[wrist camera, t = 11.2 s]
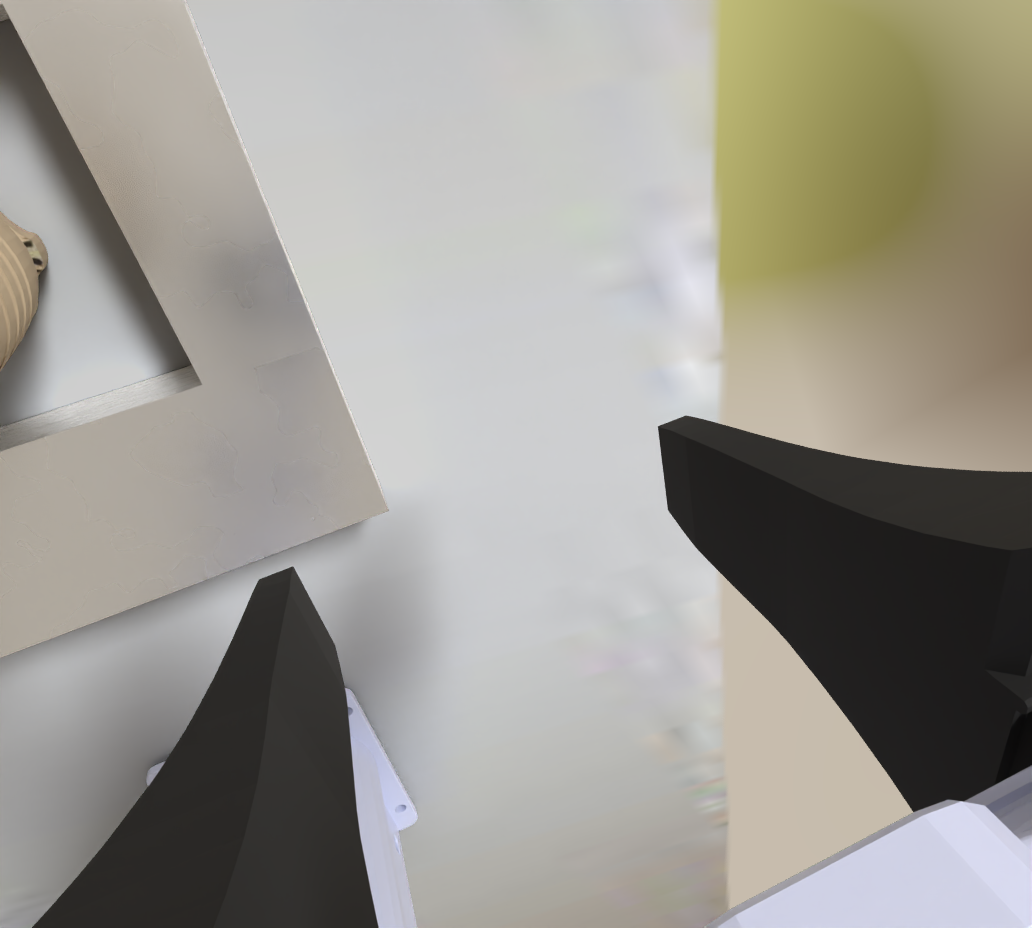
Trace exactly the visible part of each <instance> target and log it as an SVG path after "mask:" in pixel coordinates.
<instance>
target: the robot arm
mask: <svg viewBox="0 0 1032 928" xmlns="http://www.w3.org/2000/svg"><path fill="white" fill-rule="evenodd" d="M658 431H659V439H660V447H661V456H662V464H663V472H664V480H665V489H666V497H667V505H668V511H669V512H670V513H671V515H672V516H673V518H674V519H675V520H676V522H677V523H678V524H679V526H680V527H681V529H682V530H683V531H684V533H685V534H686V535H687V537H688V538H689V539H690V541H691V542H692V543H693V544H694V546H695V547H696V548H697V549H698V550H699V551H700V552H701V553H702V554H703V556H704V557H705V558H706V559H707V560H708V561H709V562H710V563H711V564H712V565H713V566H714V567H715V568H716V569H717V570H718V571H719V572H720V573H721V574H722V575H723V576H724V577H725V578H726V579H727V580H728V581H729V582H730V583H731V584H732V585H733V586H734V587H735V588H736V589H737V590H738V591H739V592H740V593H741V594H742V595H743V596H744V597H745V598H746V599H747V600H748V601H749V602H750V603H751V604H752V605H753V606H754V607H755V608H756V609H757V610H758V611H759V612H760V613H761V614H762V615H763V616H764V617H765V618H766V619H767V620H768V621H769V622H770V623H771V624H772V625H773V626H774V627H775V628H776V629H777V630H778V632H779V633H780V634H781V635H782V636H783V637H784V638H785V639H786V640H787V642H788V643H789V644H790V645H791V647H792V648H793V649H794V650H795V651H796V653H797V654H798V655H799V656H800V658H801V659H802V660H803V661H804V663H805V664H806V665H807V666H808V668H809V669H810V670H811V671H812V673H813V674H814V675H815V676H816V678H817V679H818V680H819V681H820V683H821V684H822V685H823V687H824V688H825V689H826V690H827V692H828V693H829V695H830V696H831V697H832V698H833V700H834V701H835V702H836V704H837V705H838V706H839V708H840V709H841V710H842V712H843V713H844V714H845V716H846V717H847V718H848V720H849V721H850V722H851V723H852V725H853V726H854V728H855V729H856V730H857V732H858V733H859V735H860V736H861V737H862V739H863V740H864V741H865V743H866V744H867V746H868V747H869V748H870V750H871V751H872V752H873V754H874V755H875V757H876V758H877V760H878V761H879V762H880V764H881V765H882V767H883V768H884V769H885V771H886V772H887V774H888V775H889V776H890V778H891V779H892V781H893V782H894V784H895V785H896V787H897V788H898V790H899V791H900V793H901V794H902V796H903V797H904V799H905V800H906V801H907V803H908V805H909V806H910V808H911V809H912V811H913V813H911V814H910V815H908V816H906V817H904V818H902V819H900V820H898V821H896V822H894V823H892V824H890V825H889V826H887V827H885V828H883V829H881V830H879V831H877V832H875V833H873V834H872V835H870V836H868V837H866V838H864V839H862V840H860V841H858V842H856V843H855V844H853V845H851V846H849V847H847V848H845V849H843V850H841V851H839V852H838V853H836V854H834V855H832V856H830V857H828V858H826V859H824V860H822V861H820V862H819V863H817V864H815V865H813V866H811V867H809V868H807V869H805V870H804V871H802V872H800V873H798V874H796V875H794V876H792V877H790V878H788V879H786V880H785V881H783V882H781V883H779V884H777V885H775V886H773V887H771V888H770V889H768V890H766V891H764V892H762V893H760V894H758V895H756V896H754V897H752V898H751V899H749V900H747V901H745V902H743V903H741V904H739V905H737V906H735V907H733V908H732V909H730V910H728V911H727V912H725V913H724V914H722V915H721V916H719V917H718V918H716V919H715V920H714V921H712V922H711V923H709V924H708V925H706V926H705V927H703V928H1032V472H996V471H972V470H956V469H944V468H931V467H920V466H911V465H902V464H895V463H889V462H882V461H875V460H868V459H862V458H856V457H850V456H845V455H840V454H835V453H831V452H826V451H821V450H817V449H812V448H808V447H804V446H800V445H795V444H791V443H787V442H784V441H779V440H776V439H772V438H769V437H765V436H761V435H758V434H754V433H750V432H747V431H743V430H740V429H736V428H733V427H729V426H726V425H722V424H718V423H715V422H711V421H707V420H703V419H699V418H695V417H690V416H684V417H681V418H679V419H676V420H673V421H671V422H668V423H666V424H663V425H660V426H658ZM348 707H349V708H348ZM146 783H147V785H148V788H147V789H146V790H145V792H144V793H143V794H142V796H141V797H140V798H139V800H138V801H137V802H136V804H135V805H134V806H133V808H132V809H131V810H130V812H129V813H128V814H127V816H126V817H125V818H124V820H123V821H122V822H121V824H120V825H119V826H118V828H117V829H116V830H115V831H114V833H113V834H112V835H111V837H110V838H109V839H108V841H107V842H106V843H105V844H104V846H103V847H102V848H101V849H100V851H99V852H98V853H97V854H96V855H95V857H94V858H93V859H92V860H91V861H90V862H89V864H88V865H87V866H86V867H85V868H84V870H83V871H82V872H81V873H80V874H79V876H78V877H77V878H76V879H75V880H74V881H73V883H72V884H71V885H70V886H69V887H68V888H67V889H66V890H65V892H64V893H63V894H62V895H61V896H60V897H59V898H58V900H57V901H56V902H55V903H54V904H53V905H52V906H51V907H50V909H49V910H48V911H47V912H46V913H45V914H44V915H43V916H42V917H41V918H40V920H39V921H38V922H37V923H36V924H35V925H34V926H33V927H32V928H417V924H416V919H415V914H414V909H413V904H412V899H411V893H410V888H409V883H408V878H407V873H406V868H405V863H404V857H403V852H402V847H401V842H400V837H399V832H398V831H400V830H403V829H405V828H407V827H409V826H411V825H413V824H414V823H415V822H416V821H417V818H418V816H417V811H416V808H415V806H414V805H413V803H412V801H411V799H410V797H409V795H408V793H407V792H406V790H405V788H404V786H403V784H402V782H401V780H400V779H399V777H398V775H397V773H396V771H395V769H394V767H393V766H392V764H391V762H390V760H389V758H388V756H387V754H386V753H385V751H384V749H383V747H382V745H381V743H380V741H379V740H378V738H377V736H376V734H375V732H374V730H373V728H372V727H371V725H370V723H369V721H368V719H367V717H366V715H365V714H364V712H363V710H362V708H361V706H360V704H359V703H358V701H357V699H356V697H355V695H354V693H353V692H352V691H351V690H350V689H348V688H345V686H344V682H343V677H342V673H341V668H340V664H339V660H338V656H337V651H336V647H335V644H334V643H333V641H332V639H331V637H330V635H329V633H328V631H327V629H326V627H325V626H324V624H323V622H322V620H321V618H320V616H319V614H318V612H317V611H316V609H315V607H314V605H313V603H312V601H311V599H310V597H309V595H308V594H307V592H306V590H305V588H304V586H303V584H302V582H301V580H300V578H299V577H298V575H297V573H296V571H295V569H294V567H290V568H288V569H285V570H283V571H280V572H277V573H275V574H272V575H270V576H267V577H264V578H262V579H259V581H258V583H257V585H256V587H255V589H254V591H253V593H252V595H251V598H250V600H249V602H248V605H247V607H246V609H245V612H244V614H243V616H242V619H241V621H240V623H239V625H238V628H237V630H236V632H235V634H234V637H233V639H232V641H231V643H230V645H229V647H228V650H227V652H226V654H225V656H224V658H223V660H222V662H221V664H220V667H219V669H218V671H217V673H216V675H215V677H214V679H213V681H212V683H211V685H210V686H209V688H208V690H207V692H206V694H205V696H204V698H203V699H202V701H201V703H200V705H199V707H198V709H197V711H196V712H195V714H194V716H193V718H192V720H191V722H190V723H189V725H188V727H187V728H186V730H185V732H184V733H183V735H182V737H181V738H180V740H179V741H178V743H177V745H176V746H175V748H174V749H173V751H172V752H171V754H170V755H169V757H168V758H167V760H166V761H164V762H162V763H159V764H157V765H155V766H153V767H151V768H150V769H149V771H148V773H147V779H146Z"/></svg>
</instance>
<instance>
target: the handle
mask: <svg viewBox="0 0 1032 928" xmlns="http://www.w3.org/2000/svg"><path fill="white" fill-rule="evenodd" d="M47 263H48V254H47V251H46V247H45V245H44V244H43V242H42V240H41V239H40V237H39V236H38V235H37V234H35V233H32V232H28V231H26V230H24V229H22V228H20V227H19V226H17V225H16V224H14V223H13V222H12V221H10V220H9V219H8V218H7V217H6V216H5V215H4V214H3V213H1V212H0V371H1V369H2V368H3V367H4V366H5V364H6V363H7V361H8V360H9V359H10V357H11V356H12V354H13V353H14V351H15V350H16V348H17V347H18V345H19V344H20V342H21V340H22V339H23V337H24V336H25V334H26V331H27V329H28V327H29V325H30V323H31V320H32V318H33V316H34V315H35V313H36V311H37V307H38V295H39V282H38V276H39V274H40V272H41V271H42V270H43V269H44V268H45V267H46V265H47Z"/></svg>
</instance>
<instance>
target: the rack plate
mask: <svg viewBox="0 0 1032 928" xmlns="http://www.w3.org/2000/svg"><path fill="white" fill-rule="evenodd" d="M7 19H11V21H12V23H13V25H14V27H15V29H16V31H17V32H18V34H19V36H20V38H21V40H22V42H23V44H24V46H25V48H26V50H27V52H28V53H29V55H30V57H31V59H32V61H33V63H34V65H35V67H36V69H37V71H38V72H39V74H40V76H41V78H42V80H43V82H44V84H45V86H46V88H47V90H48V92H49V93H50V95H51V97H52V99H53V101H54V103H55V105H56V107H57V109H58V111H59V112H60V114H61V116H62V118H63V120H64V122H65V124H66V126H67V128H68V130H69V131H70V133H71V135H72V137H73V139H74V141H75V143H76V145H77V147H78V149H79V151H80V152H81V154H82V156H83V158H84V160H85V162H86V164H87V166H88V168H89V170H90V171H91V173H92V175H93V177H94V179H95V181H96V183H97V185H98V187H99V189H100V191H101V192H102V194H103V196H104V198H105V200H106V202H107V204H108V206H109V208H110V210H111V211H112V213H113V215H114V217H115V219H116V221H117V223H118V225H119V227H120V229H121V231H122V232H123V234H124V236H125V238H126V240H127V242H128V244H129V246H130V248H131V250H132V251H133V253H134V255H135V257H136V259H137V261H138V263H139V265H140V267H141V269H142V270H143V272H144V274H145V276H146V278H147V280H148V282H149V284H150V286H151V288H152V290H153V291H154V293H155V295H156V297H157V299H158V301H159V303H160V305H161V307H162V309H163V310H164V312H165V314H166V316H167V318H168V320H169V322H170V324H171V326H172V328H173V330H174V331H175V333H176V335H177V337H178V339H179V341H180V343H181V345H182V347H183V349H184V350H185V352H186V354H187V356H188V358H189V360H190V362H191V364H192V365H191V366H188V367H184V368H181V369H178V370H175V371H172V372H169V373H166V374H163V375H160V376H157V377H154V378H151V379H147V380H144V381H141V382H138V383H135V384H132V385H129V386H126V387H123V388H120V389H117V390H114V391H111V392H107V393H104V394H101V395H98V396H95V397H92V398H89V399H86V400H83V401H80V402H77V403H74V404H70V405H67V406H64V407H61V408H58V409H55V410H52V411H49V412H46V413H43V414H40V415H37V416H34V417H30V418H27V419H24V420H21V421H18V422H15V423H12V424H9V425H6V426H3V427H0V658H1V657H4V656H7V655H9V654H12V653H15V652H17V651H20V650H23V649H25V648H28V647H31V646H33V645H36V644H38V643H41V642H44V641H46V640H49V639H52V638H54V637H57V636H60V635H62V634H65V633H67V632H70V631H73V630H75V629H78V628H81V627H83V626H86V625H89V624H91V623H94V622H96V621H99V620H102V619H104V618H107V617H110V616H112V615H115V614H118V613H120V612H123V611H126V610H128V609H131V608H133V607H136V606H139V605H141V604H144V603H147V602H149V601H152V600H155V599H157V598H160V597H162V596H165V595H168V594H170V593H173V592H176V591H178V590H181V589H184V588H186V587H189V586H191V585H194V584H197V583H199V582H202V581H205V580H207V579H210V578H213V577H215V576H218V575H221V574H223V573H226V572H228V571H231V570H234V569H236V568H239V567H242V566H244V565H247V564H250V563H252V562H255V561H257V560H260V559H263V558H265V557H268V556H271V555H273V554H276V553H279V552H281V551H284V550H286V549H289V548H292V547H294V546H297V545H300V544H302V543H305V542H308V541H310V540H313V539H316V538H318V537H321V536H323V535H326V534H329V533H331V532H334V531H337V530H339V529H342V528H345V527H347V526H350V525H352V524H355V523H358V522H360V521H363V520H366V519H368V518H371V517H374V516H376V515H379V514H381V513H384V512H387V511H389V510H388V507H387V504H386V501H385V498H384V494H383V491H382V488H381V485H380V482H379V479H378V477H377V474H376V472H375V469H374V467H373V464H372V462H371V459H370V457H369V454H368V452H367V449H366V447H365V444H364V442H363V439H362V437H361V434H360V432H359V429H358V427H357V424H356V422H355V419H354V417H353V414H352V412H351V409H350V407H349V405H348V402H347V400H346V397H345V395H344V392H343V390H342V387H341V385H340V382H339V380H338V377H337V375H336V372H335V370H334V367H333V365H332V362H331V360H330V357H329V355H328V352H327V350H326V347H325V345H324V342H323V340H322V337H321V335H320V332H319V330H318V327H317V325H316V322H315V320H314V317H313V315H312V312H311V310H310V307H309V305H308V302H307V300H306V297H305V295H304V292H303V290H302V287H301V285H300V282H299V280H298V277H297V275H296V272H295V270H294V267H293V265H292V262H291V260H290V257H289V255H288V253H287V250H286V248H285V245H284V243H283V240H282V238H281V235H280V233H279V230H278V228H277V225H276V223H275V220H274V218H273V215H272V213H271V210H270V208H269V205H268V203H267V200H266V198H265V195H264V193H263V190H262V188H261V185H260V183H259V180H258V178H257V175H256V173H255V170H254V168H253V165H252V163H251V160H250V158H249V155H248V153H247V150H246V148H245V145H244V143H243V140H242V138H241V135H240V133H239V130H238V128H237V125H236V123H235V120H234V118H233V115H232V113H231V110H230V108H229V105H228V103H227V100H226V98H225V96H224V93H223V91H222V88H221V86H220V83H219V81H218V78H217V76H216V73H215V71H214V68H213V66H212V63H211V61H210V58H209V56H208V53H207V51H206V48H205V46H204V43H203V41H202V38H201V36H200V33H199V31H198V28H197V26H196V23H195V21H194V18H193V16H192V13H191V11H190V8H189V6H188V3H187V1H186V0H0V21H3V20H7Z"/></svg>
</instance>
